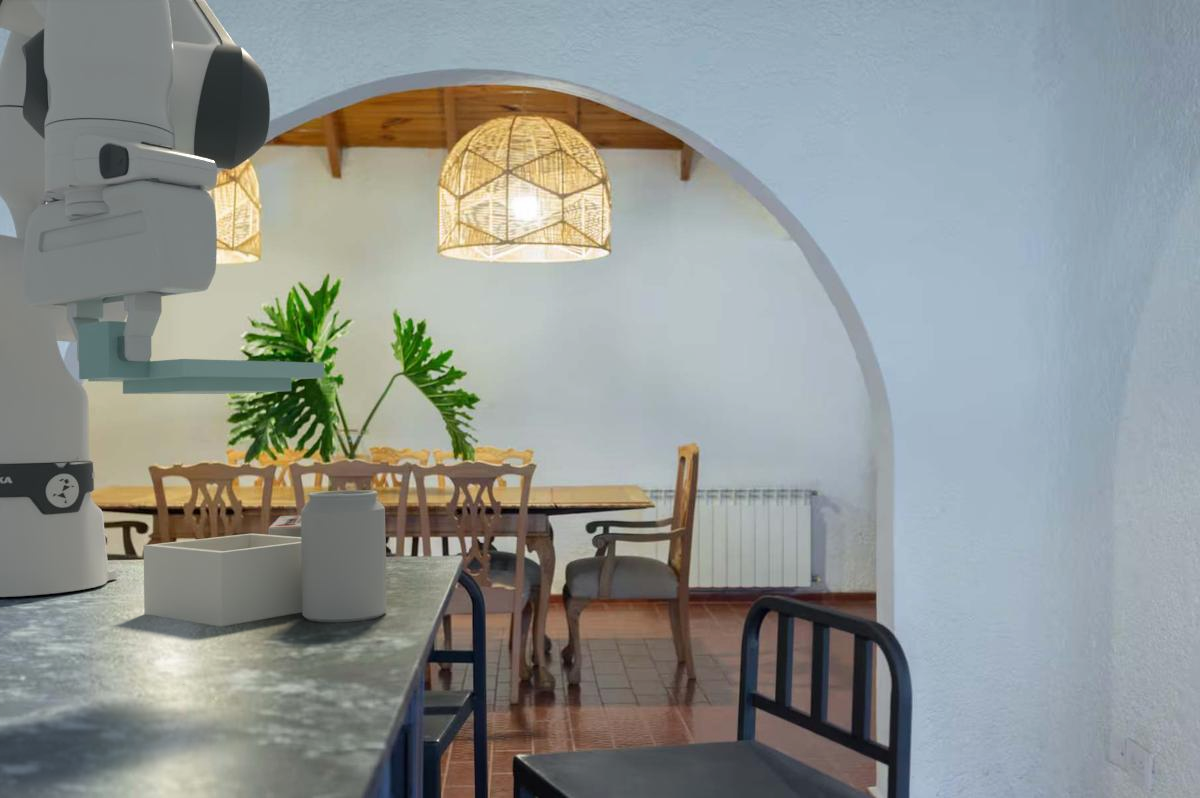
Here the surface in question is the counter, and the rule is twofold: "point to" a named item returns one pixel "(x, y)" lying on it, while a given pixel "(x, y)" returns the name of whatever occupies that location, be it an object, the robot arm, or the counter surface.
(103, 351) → the lid
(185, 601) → the tub
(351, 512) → the can
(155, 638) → the counter surface
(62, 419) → the robot arm
